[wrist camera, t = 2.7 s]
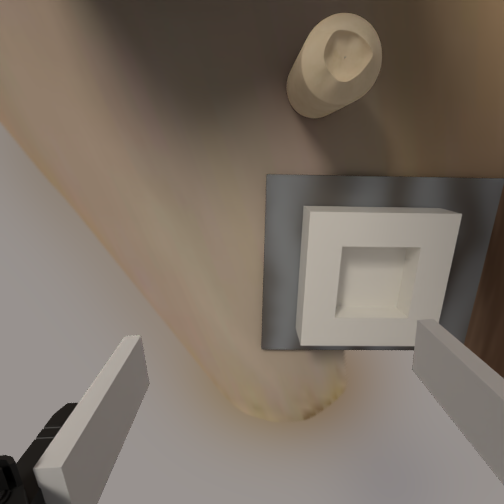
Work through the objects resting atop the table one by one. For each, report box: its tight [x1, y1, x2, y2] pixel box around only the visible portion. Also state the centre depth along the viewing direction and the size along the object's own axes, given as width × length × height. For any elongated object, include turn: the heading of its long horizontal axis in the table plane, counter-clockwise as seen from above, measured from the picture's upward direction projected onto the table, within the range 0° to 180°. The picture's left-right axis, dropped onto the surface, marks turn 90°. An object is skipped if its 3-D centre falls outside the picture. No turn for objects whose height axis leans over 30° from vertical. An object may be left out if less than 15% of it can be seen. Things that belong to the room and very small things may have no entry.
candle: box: [287, 13, 382, 118], centre depth 24 cm, size 6×6×10 cm
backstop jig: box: [261, 174, 504, 378], centre depth 30 cm, size 26×20×10 cm
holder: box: [296, 206, 462, 346], centre depth 32 cm, size 14×14×4 cm
